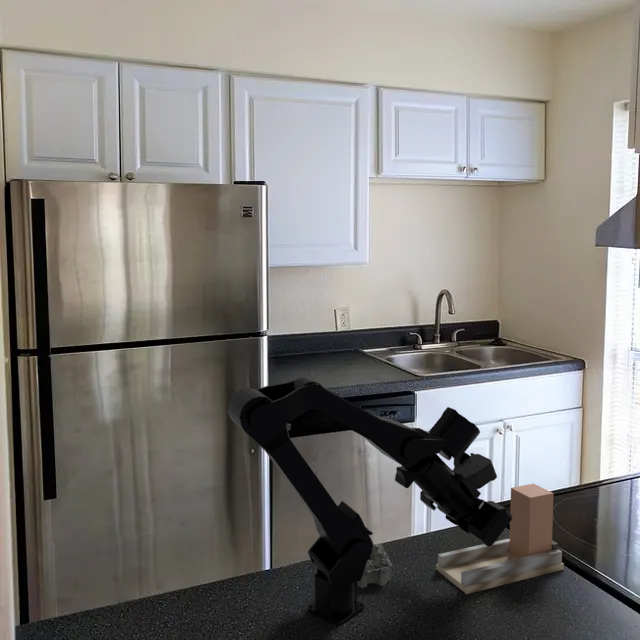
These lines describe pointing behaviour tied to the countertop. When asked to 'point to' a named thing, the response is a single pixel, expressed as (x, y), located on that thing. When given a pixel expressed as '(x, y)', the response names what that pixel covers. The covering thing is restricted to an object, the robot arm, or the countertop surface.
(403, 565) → the countertop surface
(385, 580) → the egg carton
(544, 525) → the chute block
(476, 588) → the chute
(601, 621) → the countertop surface
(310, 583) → the countertop surface
